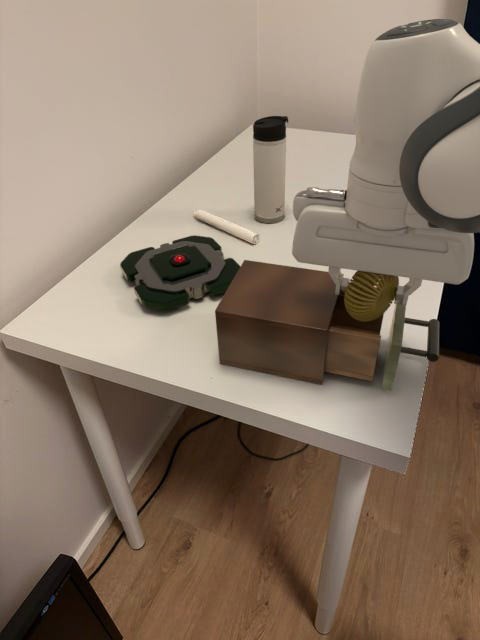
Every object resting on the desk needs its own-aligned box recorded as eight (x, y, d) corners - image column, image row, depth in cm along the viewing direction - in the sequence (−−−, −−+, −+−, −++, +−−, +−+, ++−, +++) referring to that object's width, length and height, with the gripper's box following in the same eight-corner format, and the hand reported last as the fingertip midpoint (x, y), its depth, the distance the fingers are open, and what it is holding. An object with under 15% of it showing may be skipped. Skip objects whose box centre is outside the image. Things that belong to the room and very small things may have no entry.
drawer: (431, 340, 69) (444, 296, 64) (429, 398, 61) (444, 353, 56) (306, 318, 74) (309, 276, 69) (288, 370, 66) (290, 326, 61)
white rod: (190, 217, 103) (189, 207, 101) (197, 214, 104) (196, 204, 102) (252, 246, 93) (252, 235, 91) (259, 241, 94) (259, 231, 92)
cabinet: (337, 326, 74) (343, 273, 68) (322, 384, 65) (327, 330, 58) (246, 310, 78) (244, 259, 71) (219, 363, 68) (214, 310, 62)
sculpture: (375, 297, 66) (384, 246, 61) (399, 311, 64) (410, 259, 59) (334, 321, 63) (340, 269, 57) (358, 337, 60) (366, 284, 55)
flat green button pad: (251, 288, 82) (250, 266, 79) (150, 322, 76) (145, 299, 73) (207, 242, 95) (205, 221, 92) (117, 268, 89) (112, 246, 86)
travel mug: (286, 223, 99) (289, 122, 87) (254, 224, 100) (252, 124, 87) (285, 209, 104) (287, 112, 91) (254, 210, 104) (252, 113, 92)
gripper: (287, 197, 53) (284, 298, 62) (490, 219, 47) (456, 326, 56) (299, 174, 57) (295, 272, 66) (486, 191, 52) (455, 295, 61)
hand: (370, 297), depth 61 cm, fingers closed on sculpture, 6 cm apart
